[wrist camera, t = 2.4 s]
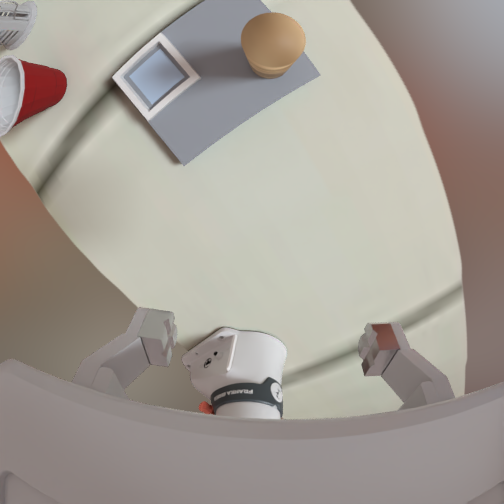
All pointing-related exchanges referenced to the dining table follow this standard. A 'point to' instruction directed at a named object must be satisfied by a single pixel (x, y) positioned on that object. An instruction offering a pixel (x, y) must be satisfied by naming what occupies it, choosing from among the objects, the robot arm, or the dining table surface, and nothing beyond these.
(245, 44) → the oak column
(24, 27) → the french press
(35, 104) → the plastic cup
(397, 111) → the dining table surface
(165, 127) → the board
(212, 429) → the robot arm
